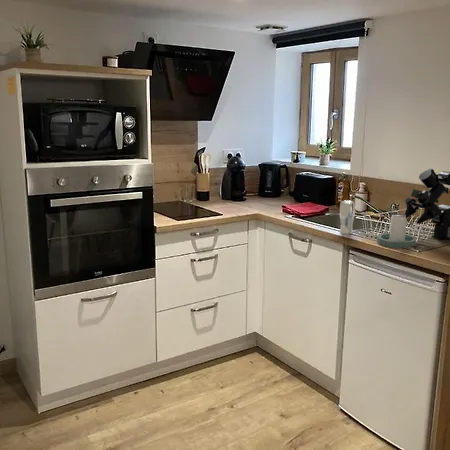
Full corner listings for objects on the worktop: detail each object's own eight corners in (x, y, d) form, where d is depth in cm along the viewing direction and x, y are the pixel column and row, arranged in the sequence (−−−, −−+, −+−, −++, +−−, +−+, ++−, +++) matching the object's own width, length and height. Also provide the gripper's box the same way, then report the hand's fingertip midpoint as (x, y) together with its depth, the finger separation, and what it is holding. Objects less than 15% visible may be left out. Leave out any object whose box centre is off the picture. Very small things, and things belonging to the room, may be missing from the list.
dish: (397, 236, 233) (397, 231, 233) (424, 245, 219) (424, 239, 218) (369, 240, 227) (370, 235, 226) (396, 249, 212) (396, 244, 212)
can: (395, 238, 227) (396, 212, 224) (407, 241, 222) (409, 215, 219) (386, 241, 223) (388, 214, 220) (398, 244, 218) (400, 217, 215)
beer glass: (340, 230, 246) (341, 200, 242) (354, 231, 243) (356, 201, 240) (337, 233, 240) (338, 202, 236) (352, 234, 237) (354, 203, 234)
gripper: (409, 179, 229) (387, 205, 228) (438, 186, 211) (414, 213, 211) (422, 195, 233) (401, 220, 232) (451, 202, 216) (428, 230, 215)
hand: (410, 221), depth 222 cm, fingers open, 9 cm apart
